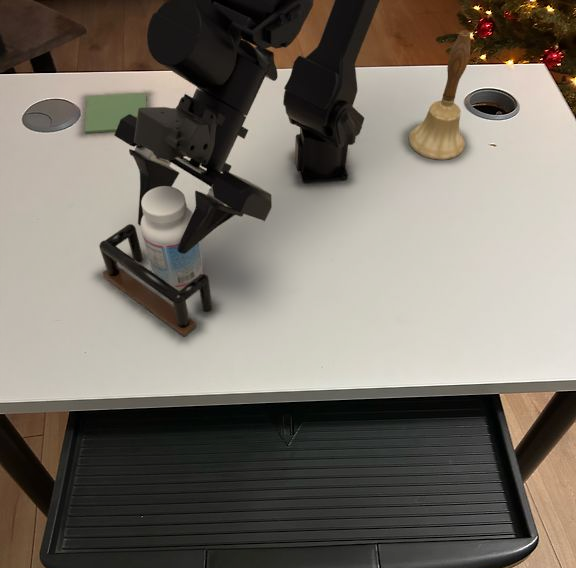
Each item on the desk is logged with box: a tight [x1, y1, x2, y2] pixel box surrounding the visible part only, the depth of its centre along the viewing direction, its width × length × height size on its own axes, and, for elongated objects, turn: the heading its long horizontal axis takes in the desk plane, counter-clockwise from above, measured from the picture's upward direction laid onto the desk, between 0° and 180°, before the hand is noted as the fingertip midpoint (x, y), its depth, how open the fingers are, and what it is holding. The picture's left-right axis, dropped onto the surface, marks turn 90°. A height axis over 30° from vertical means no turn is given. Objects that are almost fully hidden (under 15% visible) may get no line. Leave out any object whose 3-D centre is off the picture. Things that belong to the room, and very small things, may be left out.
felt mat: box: [84, 92, 148, 134], centre depth 92 cm, size 9×9×1 cm
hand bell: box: [408, 30, 471, 161], centre depth 83 cm, size 8×8×16 cm
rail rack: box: [98, 223, 213, 337], centre depth 70 cm, size 5×14×6 cm, turn 50°
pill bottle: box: [140, 186, 204, 291], centre depth 69 cm, size 6×6×11 cm
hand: (160, 239), depth 67 cm, fingers closed on pill bottle, 6 cm apart
